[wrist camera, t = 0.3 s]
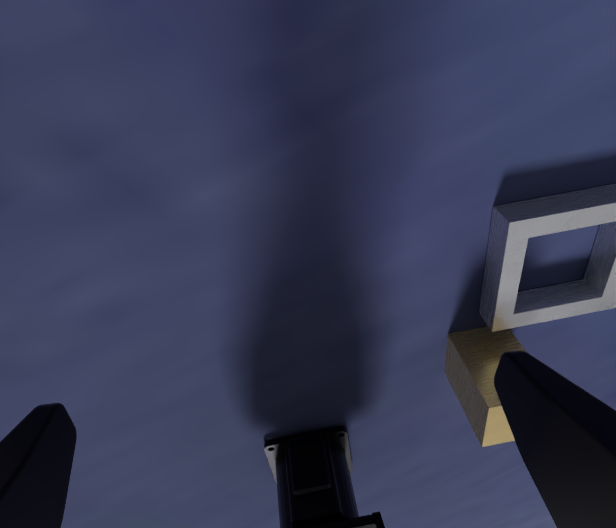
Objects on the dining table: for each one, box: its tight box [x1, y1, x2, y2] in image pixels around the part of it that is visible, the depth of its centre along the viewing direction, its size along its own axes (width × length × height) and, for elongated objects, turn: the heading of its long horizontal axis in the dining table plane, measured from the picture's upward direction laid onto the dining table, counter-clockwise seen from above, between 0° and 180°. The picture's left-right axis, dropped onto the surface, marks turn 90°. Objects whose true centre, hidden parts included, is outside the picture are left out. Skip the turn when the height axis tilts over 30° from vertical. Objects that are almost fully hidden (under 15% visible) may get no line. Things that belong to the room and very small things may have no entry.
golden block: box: [445, 326, 526, 447], centre depth 28 cm, size 4×4×6 cm
